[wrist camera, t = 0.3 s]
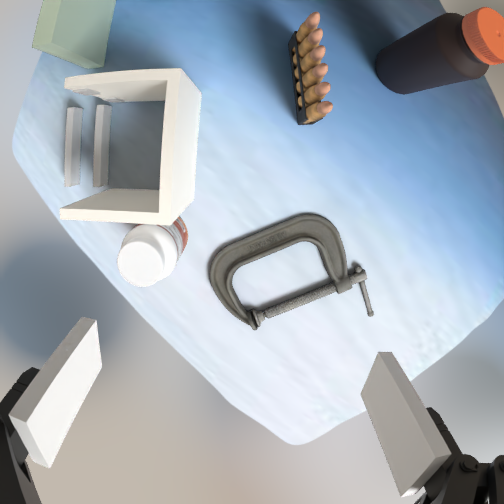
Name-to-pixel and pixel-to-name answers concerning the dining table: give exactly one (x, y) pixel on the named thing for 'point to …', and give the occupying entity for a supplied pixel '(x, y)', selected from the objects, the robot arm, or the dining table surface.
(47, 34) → the door
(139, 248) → the pill bottle
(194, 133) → the cabinet
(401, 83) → the vinegar
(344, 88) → the dining table surface
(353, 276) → the c clamp
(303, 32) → the ammunition clip
